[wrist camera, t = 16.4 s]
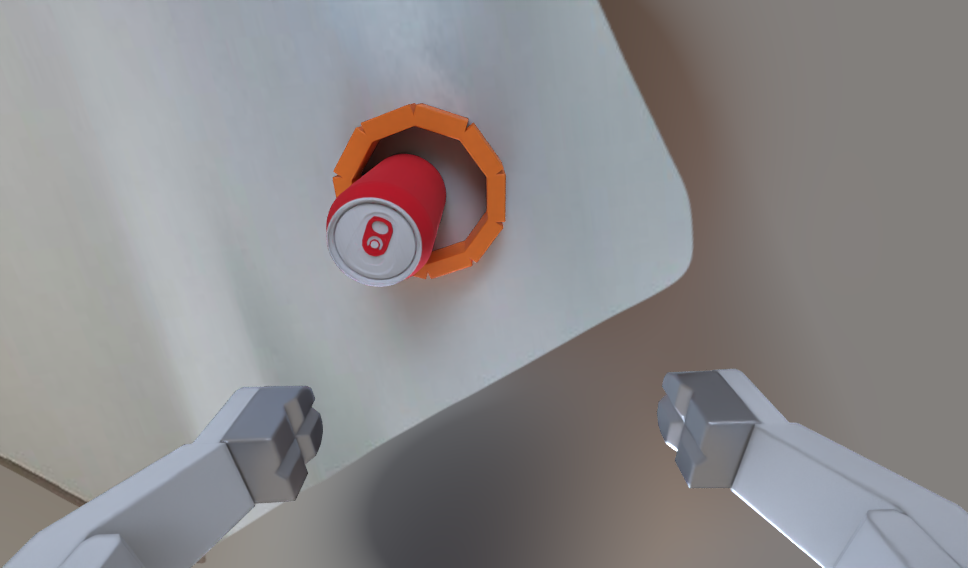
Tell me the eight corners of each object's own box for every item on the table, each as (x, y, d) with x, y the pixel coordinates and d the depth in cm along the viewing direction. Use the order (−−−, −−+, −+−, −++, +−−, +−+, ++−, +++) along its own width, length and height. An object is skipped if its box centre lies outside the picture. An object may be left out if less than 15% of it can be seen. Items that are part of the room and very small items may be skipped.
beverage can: (361, 210, 33) (304, 271, 22) (383, 138, 30) (329, 168, 19) (432, 238, 34) (409, 309, 23) (458, 171, 31) (447, 216, 21)
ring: (503, 101, 29) (506, 102, 27) (502, 264, 35) (505, 277, 32) (332, 104, 29) (318, 106, 26) (360, 267, 35) (351, 281, 32)
